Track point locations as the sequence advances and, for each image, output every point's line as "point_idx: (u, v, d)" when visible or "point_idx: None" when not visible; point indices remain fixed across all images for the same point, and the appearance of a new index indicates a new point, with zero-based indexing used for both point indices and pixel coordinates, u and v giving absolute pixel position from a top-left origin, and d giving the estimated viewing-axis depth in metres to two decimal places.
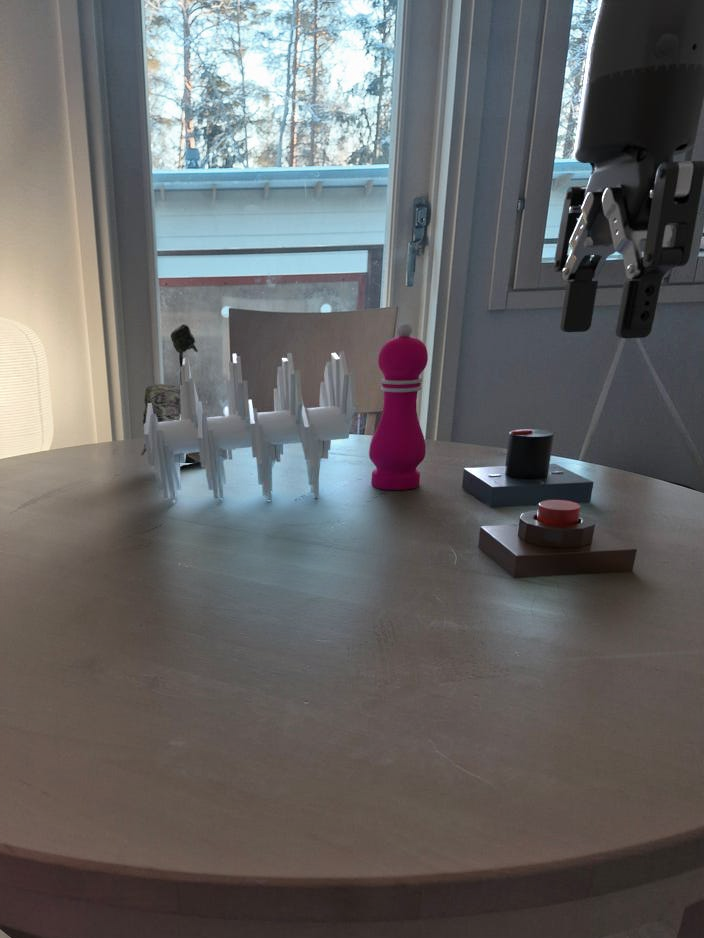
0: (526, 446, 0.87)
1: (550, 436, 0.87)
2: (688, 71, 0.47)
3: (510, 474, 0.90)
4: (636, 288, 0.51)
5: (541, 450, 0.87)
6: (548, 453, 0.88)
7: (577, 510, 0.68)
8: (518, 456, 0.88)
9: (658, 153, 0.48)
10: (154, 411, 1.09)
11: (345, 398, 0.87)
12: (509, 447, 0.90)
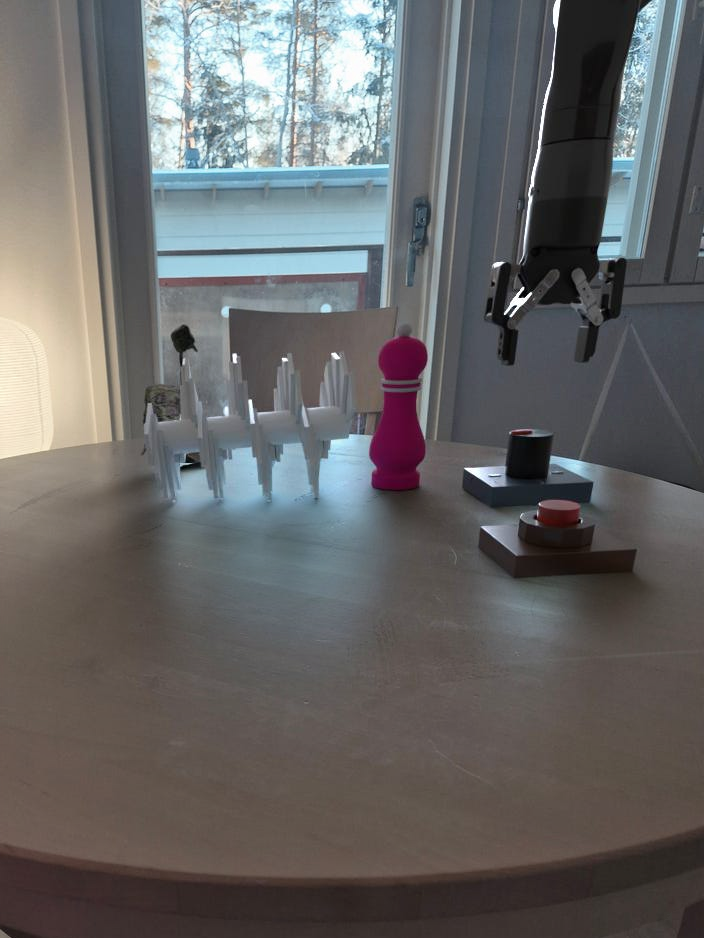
0: (526, 446, 0.87)
1: (550, 436, 0.87)
2: (536, 205, 0.76)
3: (510, 474, 0.90)
4: None
5: (541, 450, 0.87)
6: (548, 453, 0.88)
7: (577, 510, 0.68)
8: (518, 456, 0.88)
9: (524, 253, 0.79)
10: (154, 411, 1.09)
11: (345, 398, 0.87)
12: (509, 447, 0.90)
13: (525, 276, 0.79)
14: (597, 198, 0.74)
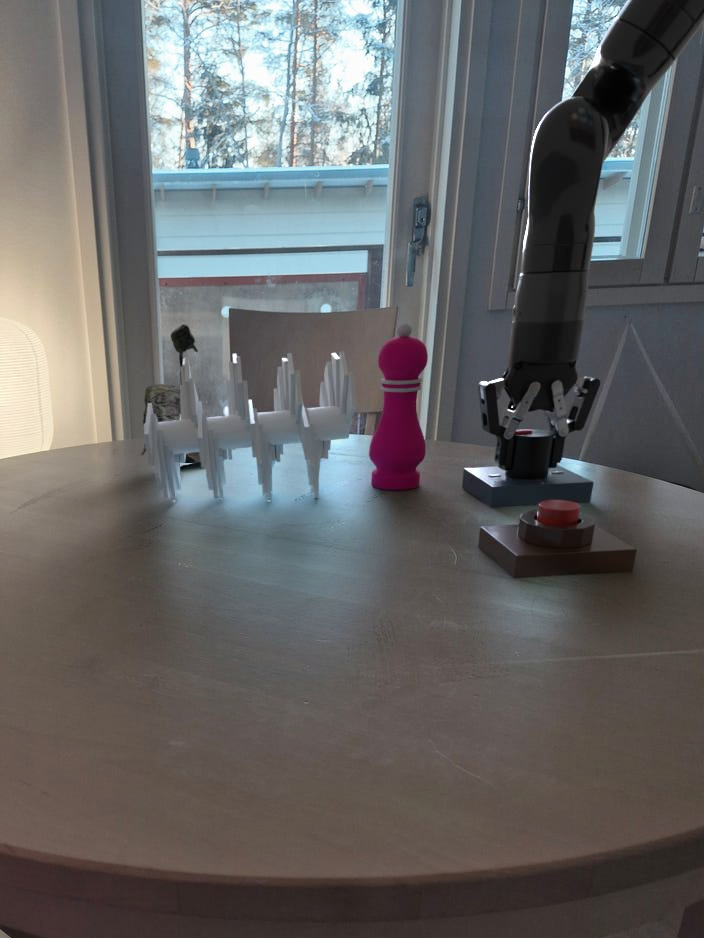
0: (526, 446, 0.87)
1: (550, 436, 0.87)
2: (518, 325, 0.83)
3: (510, 474, 0.90)
4: None
5: (541, 450, 0.87)
6: (548, 453, 0.88)
7: (577, 510, 0.68)
8: (518, 456, 0.88)
9: (508, 365, 0.86)
10: (154, 411, 1.09)
11: (345, 398, 0.87)
12: None
13: (509, 387, 0.86)
14: (573, 322, 0.80)
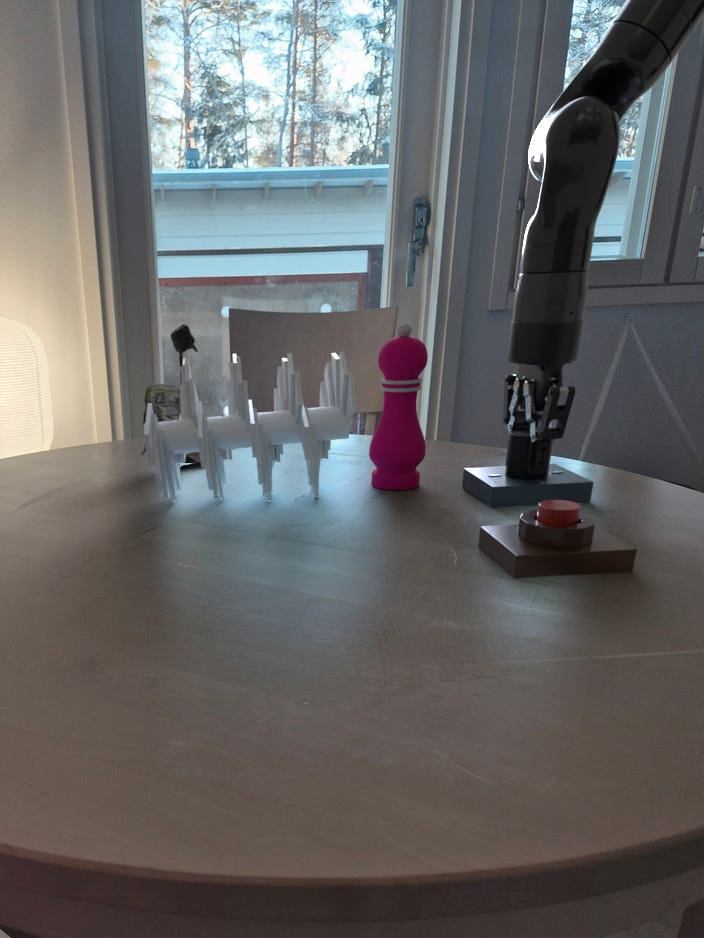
0: (552, 443, 0.88)
1: None
2: (568, 325, 0.80)
3: (542, 475, 0.89)
4: (535, 447, 0.86)
5: None
6: None
7: (577, 510, 0.68)
8: (549, 455, 0.88)
9: (553, 368, 0.82)
10: (154, 411, 1.09)
11: (345, 398, 0.87)
12: None
13: None
14: None
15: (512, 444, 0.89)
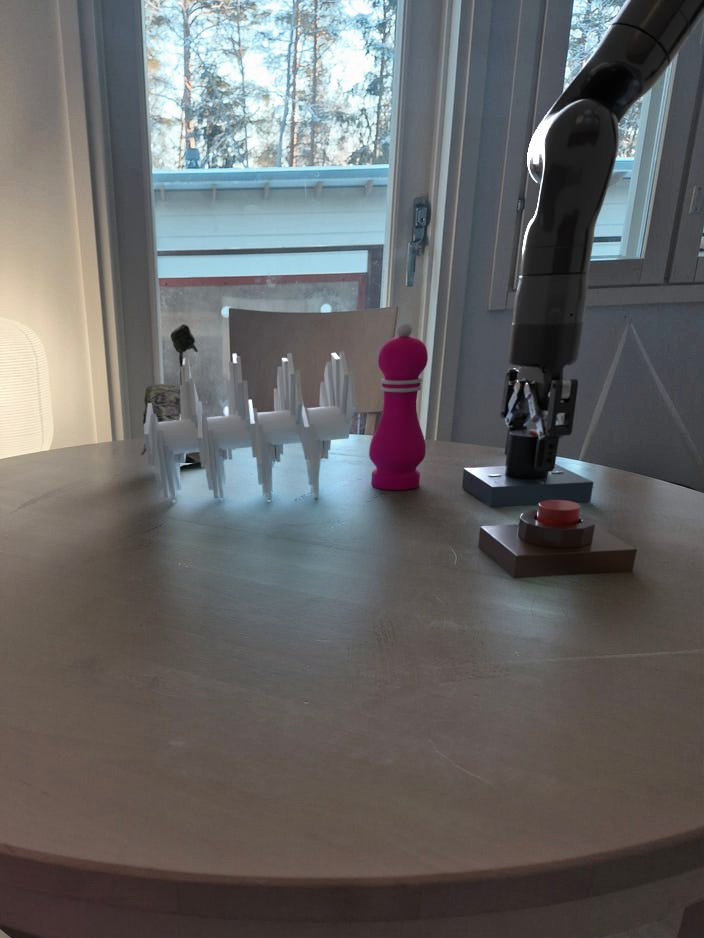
0: None
1: None
2: (568, 327, 0.80)
3: (542, 475, 0.89)
4: (543, 444, 0.85)
5: None
6: None
7: (577, 510, 0.68)
8: None
9: (554, 369, 0.82)
10: (154, 411, 1.09)
11: (345, 398, 0.87)
12: None
13: None
14: None
15: (512, 444, 0.89)
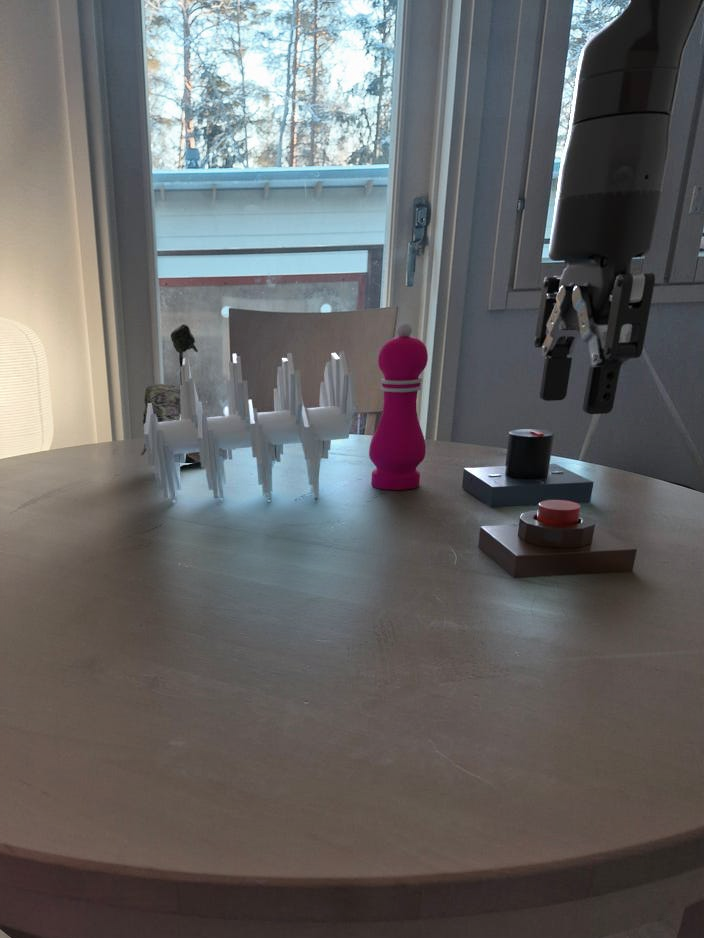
0: (552, 443, 0.88)
1: None
2: (642, 196, 0.55)
3: (542, 475, 0.89)
4: (599, 373, 0.60)
5: None
6: None
7: (577, 510, 0.68)
8: (548, 455, 0.88)
9: (618, 261, 0.57)
10: (154, 411, 1.09)
11: (345, 398, 0.87)
12: (539, 450, 0.87)
13: None
14: None
15: (512, 444, 0.89)
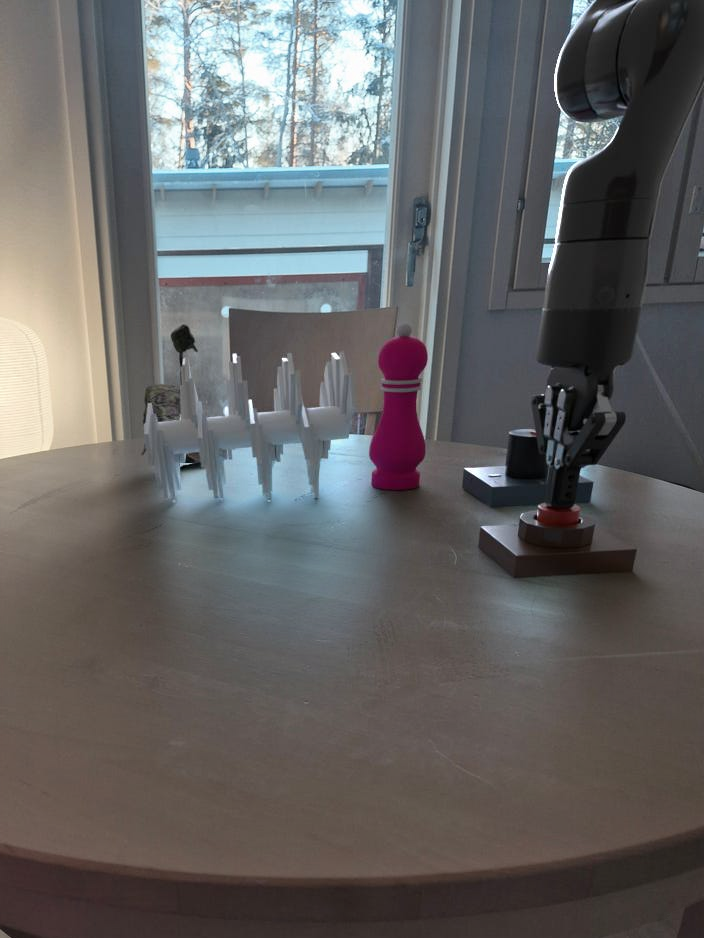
0: None
1: None
2: (623, 313, 0.59)
3: (542, 475, 0.89)
4: (561, 475, 0.67)
5: None
6: None
7: (576, 512, 0.68)
8: None
9: (601, 371, 0.60)
10: (154, 411, 1.09)
11: (345, 398, 0.87)
12: None
13: (609, 399, 0.61)
14: None
15: (512, 444, 0.89)
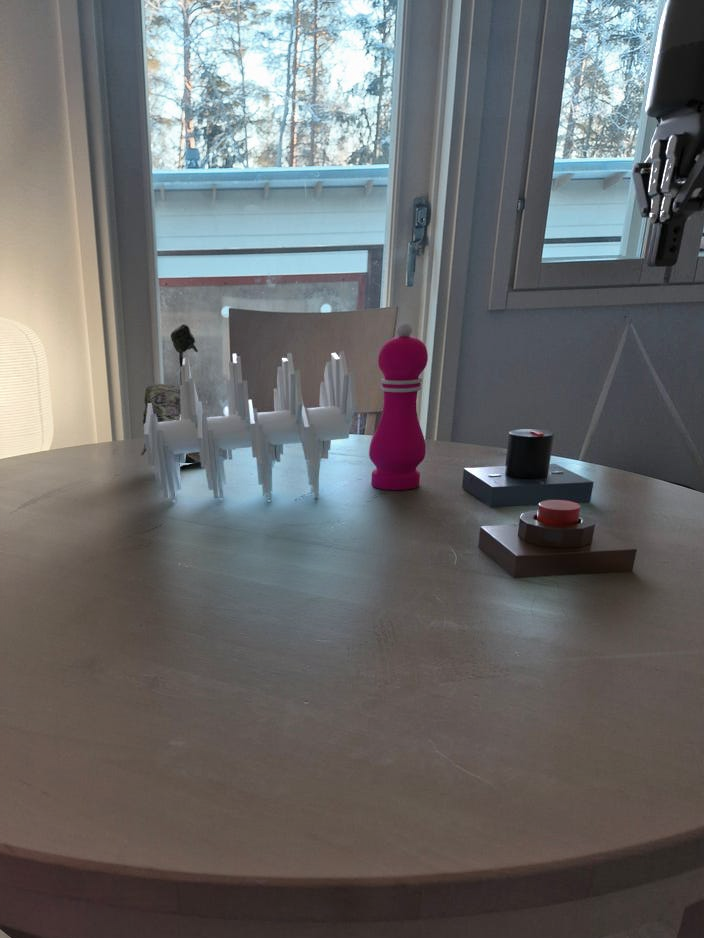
0: (552, 443, 0.88)
1: None
2: None
3: (542, 475, 0.89)
4: (666, 229, 0.70)
5: None
6: None
7: (577, 510, 0.68)
8: (548, 455, 0.88)
9: None
10: (154, 411, 1.09)
11: (345, 398, 0.87)
12: (539, 450, 0.87)
13: None
14: None
15: (512, 444, 0.89)
